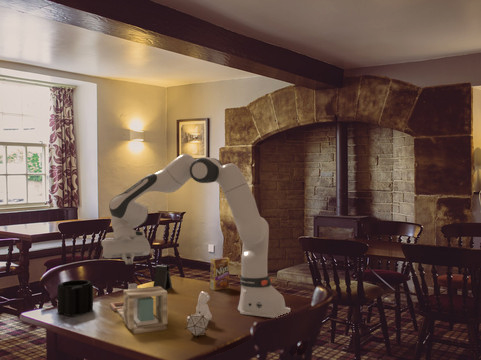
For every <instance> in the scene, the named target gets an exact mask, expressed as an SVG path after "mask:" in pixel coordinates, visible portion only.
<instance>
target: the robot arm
mask: <svg viewBox="0 0 481 360" xmlns="http://www.w3.org/2000/svg"><path fill="white" fill-rule="evenodd" d="M190 179H193V180H194V181H195V182H197V183H199V184H211V183H217V184H218V185H219V186H220V188H221V190H222V193H223V195H224V197H225V200H226V201H227V204H228V207H229V208H230V211H231V214H232V217H233V220H234V224H235V227H236V230H237V233H238V236H239V238H240V240H241V241H242V249H241V250H242V251H241V259H240V260H241V261H240V262H241V265H240V266H241V269H240V270H241V271H240V272H241V275H240V276H239V277H240V296H239V301H238V305H237V310H238V311H239V313H240V314H241V315H246V316H256V317H262V318H263V317H264V318H272V319H273V318H274V319H275V317H276V318H279V317H278V316H280V315H283V314H286V313H288V314H290V313H291V308H290V307H288V306H286V303H285V302H286V301H285V298H284V296H283V295H282V294H281V293H280V292H279V291H278V290H277V289H276V288H275V287H274V286H273V285H272V283H271V282H273V280H274V278H272V277H271V278H270V277H269V275H268V255H269V254H268V253H269V239H270V238H269V235H270V231H269V230H270V227H269V226H270V225H269V223H268V221H267V220H266V219H265V218H264V217H262V216H261V215H260V213H259V208H258V206H257V202H256V199H255V197H254V194H253V192H252V190H251V188H250V186H249V184H248V181H247V179H246V178H245V176H244V174H243V172H242V171H241V169H240V168H239V166H238V165H237V164H235V163H226V164H223V163H222V162H221V161H220V160H218V159H217V158H215V157H214V158H213V157H210V156H209V157H208V156H207V157H199V158H195V157H193V156H192V155H191V154H188V153H183V154H179V156H177V157H176V158H174V160H172V161H171V162H169V163H168V164H167V165H166V166H165V167H164V168H162V169H161V170H159V171H157V172H155V173H150V174H148V175H146V176H144V177H143V178H141V179H139V180H138V181H137V182H135V183H134V184H133V185H132V186H130V187H129V188H127V189H126V190H124V191H123V192H121V193H119V194H117V195H115V196H114V197H113V198H112V199H111V200H110V202H109V204H108V205H109V206H108V207H109V212H110V214H111V216H110V223H111V227H112V230H113V237H111V238H104V239H103V240H101V242H100V245H101V248H103V249H102V254H103V255H102V256H103V258H104V259H113V258H114V259H115V258H121V259H122V260H123V261H124V262H125V263H124V264H125V265H133V264H134V258H135V257H142V256H143V257H144V256H149V255H150V253H151V250H152V249H151V245H150V242H149V240H148V239H147V238H146V233H145V232H144V231H139V230H135V229H136V228H138V227H140V226H141V225H143V224H145V222H146V221H147V220H148V217H149V210H148V207H147V206H145V205H144V204H141V202H138V201H136V200H137V199H139V198H140V197H141V196H143V195H145V194H146V193H150V192H159V193H167V194H171V193H174V192H176V191H179V190H180V189H181V188H182V187H183V186H184V185H185V184H186V183H187V182H188V181H189V180H190ZM127 257H129V258H127ZM289 312H290V313H289ZM286 315H287V314H286Z"/></svg>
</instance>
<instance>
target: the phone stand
mask: <svg viewBox="0 0 481 360" xmlns="http://www.w3.org/2000/svg"><path fill="white" fill-rule="evenodd" d="M156 286H160V287H162V288H163V289H164V290H166V291H168V290H170V289H172V288H173V284H172V280H171V274H170V266H169V265H162V264H157V265H155V276H154V281H153V286H152V287H156Z"/></svg>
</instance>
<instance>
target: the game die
mask: <svg viewBox="0 0 481 360" xmlns="http://www.w3.org/2000/svg"><path fill="white" fill-rule="evenodd" d="M188 315H189V316H190V319H188V320H189V322H188V321H187V325H186V327H184V330H186V329H187V330H188V331H189V332H190V333H191V335H193V336H195V337H194V339H197V337H198V336H201V335H203V334H204V336H206V335H207V333H206V332H207V331H209V329H208V325H209V323H210V322H211V321H212V319H211V320H209V321H208V320H207V319H206V318H205V317H204V315H203V316H202V315H201V314H200V311H199V314H196V313H194V314H188ZM191 315H192V316H191ZM208 322H209V323H208Z"/></svg>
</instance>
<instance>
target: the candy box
mask: <svg viewBox="0 0 481 360" xmlns="http://www.w3.org/2000/svg"><path fill="white" fill-rule="evenodd" d="M209 277H210V280H209V281H210V282H209V283H210V285H209V287H210V290H212V291H218V290H219V291H220V290H225V289H229V288H230V258H229V257H225V256H224V257H218V258H210V276H209Z"/></svg>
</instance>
